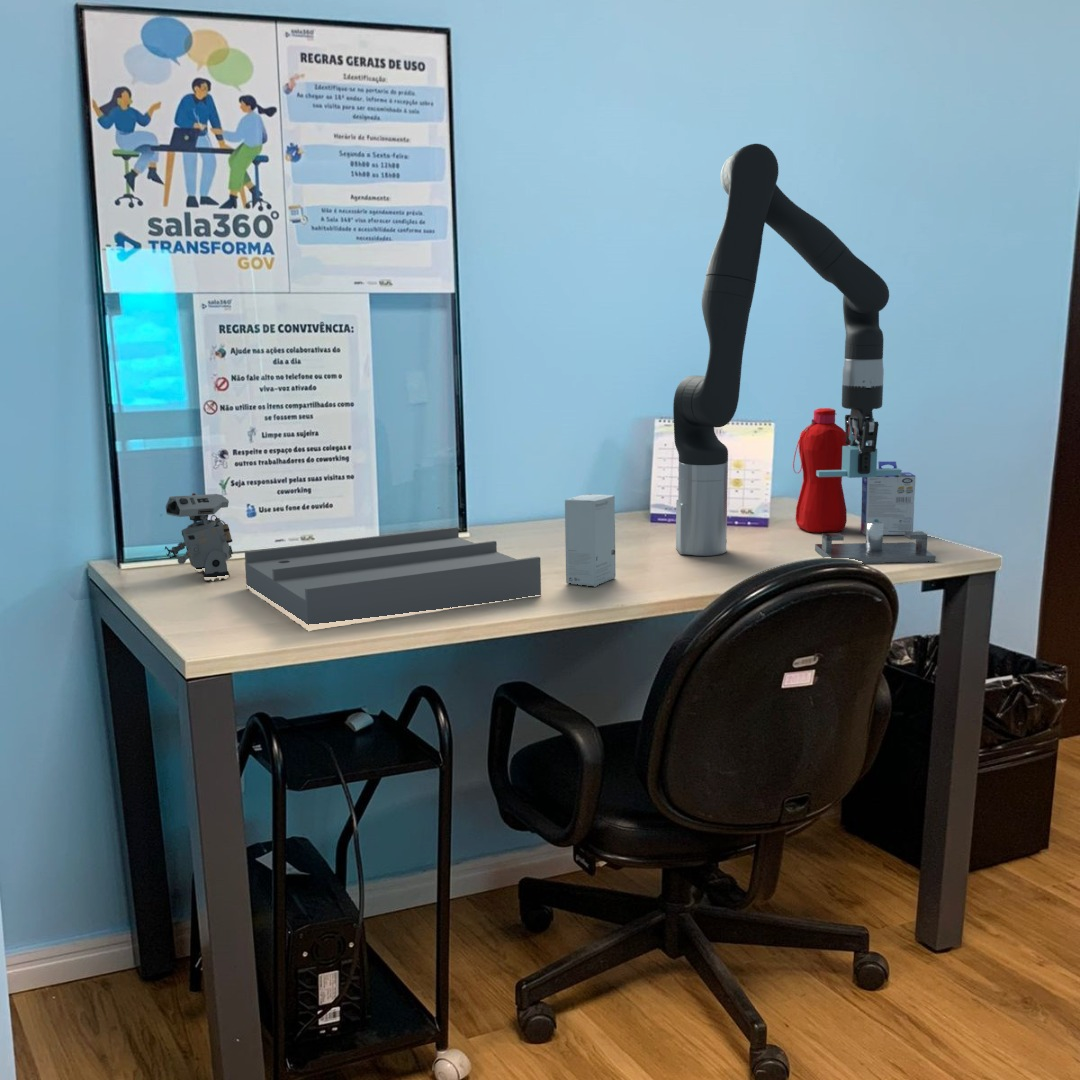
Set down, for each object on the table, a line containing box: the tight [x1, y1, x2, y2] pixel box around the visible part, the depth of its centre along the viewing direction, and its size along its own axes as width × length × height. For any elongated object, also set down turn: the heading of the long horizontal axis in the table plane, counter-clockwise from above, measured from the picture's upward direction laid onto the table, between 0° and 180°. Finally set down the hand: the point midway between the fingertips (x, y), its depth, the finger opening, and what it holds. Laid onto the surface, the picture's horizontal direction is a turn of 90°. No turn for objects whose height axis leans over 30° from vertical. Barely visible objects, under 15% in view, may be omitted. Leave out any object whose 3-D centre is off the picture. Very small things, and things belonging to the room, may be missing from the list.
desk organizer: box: [244, 526, 542, 625], centre depth 206 cm, size 32×40×7 cm
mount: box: [814, 522, 937, 564], centre depth 229 cm, size 19×12×6 cm, turn 92°
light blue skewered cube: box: [816, 444, 903, 479], centre depth 237 cm, size 16×5×5 cm, turn 92°
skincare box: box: [564, 493, 616, 588], centre depth 211 cm, size 8×6×15 cm
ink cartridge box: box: [860, 461, 916, 536], centre depth 249 cm, size 10×6×14 cm, turn 89°
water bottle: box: [792, 407, 848, 534], centre depth 252 cm, size 9×11×25 cm
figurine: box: [164, 492, 234, 577], centre depth 218 cm, size 9×12×15 cm
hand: (859, 470), depth 237 cm, fingers closed on light blue skewered cube, 5 cm apart
